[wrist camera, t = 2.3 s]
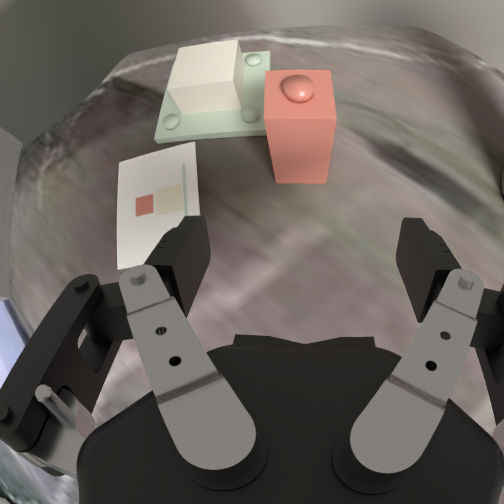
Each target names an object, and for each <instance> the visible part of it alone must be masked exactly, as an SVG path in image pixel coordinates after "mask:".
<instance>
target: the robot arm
mask: <svg viewBox="0 0 504 504" xmlns="http://www.w3.org/2000/svg"><path fill="white" fill-rule="evenodd" d="M501 185H502V191H503V196H504V169H503V172H502V182H501ZM209 262H210V245H209V239H208V233H207V227H206V221H205V217H204V216H203V215H192V216H184V218H183V219H182V221H181V222H180V224H179V225H178V227H173V228H172V229H170V230H169V231H168V232H166V233H165V234H164V235H163V236H162V238H161V239H160V241H159V242H158V243H157V245H156V246H155V248H154V249H153V251H152V252H151V254H150V255H149V256H148V258H147V259H146V261H145V262H144V264H143V265H137V266H134V267H132V268H130V269H128V270H126V271H125V272H124V273H123V274H122V275H121V276H120V278H119V282H117V283H111V284H105V285H101V284H100V282H99V279H98V277H97V276H95V275H93V274H86V275H82V276H79V277H77V278H75V279H73V280H72V281H71V282H70V283H69V284H68V285H67V286H66V288H65V289H64V290H63V292H62V293H61V294H60V296H59V297H58V299H57V300H56V301H55V303H54V304H53V306H52V307H51V309H50V310H49V311H48V313H47V314H46V316H45V317H44V319H43V320H42V322H41V323H40V325H39V326H38V328H37V329H36V331H35V332H34V334H33V335H32V337H31V338H30V340H29V342H28V343H27V345H26V346H25V348H24V349H23V351H22V353H21V354H20V356H19V358H18V359H17V361H16V363H15V364H14V366H13V368H12V369H11V371H10V373H9V375H8V376H7V378H6V380H5V382H4V384H3V385H2V387H1V389H0V439H1V440H2V441H3V442H5V443H6V444H7V445H8V446H9V447H10V448H11V449H12V450H13V451H15V452H16V453H17V454H19V455H20V456H21V457H23V458H24V459H26V460H27V461H29V462H30V463H32V464H33V465H35V466H37V467H39V468H41V469H42V470H44V471H46V472H47V473H49V474H51V475H53V476H62V475H65V474H66V475H68V476H70V477H73V478H75V479H78V485H79V504H498V501H499V497H500V494H501V492H504V284H503V286H502V289H501V291H500V292H499V291H494V290H490V289H486V288H484V284H483V282H482V280H481V279H480V278H479V277H478V276H477V275H476V274H475V273H473V272H471V271H469V270H465V269H462V268H461V267H460V265H459V263H458V262H457V260H456V259H455V257H454V255H453V254H452V252H450V249H449V248H448V246H446V243H445V242H444V240H443V239H442V237H441V236H439V235H438V234H437V233H435V232H434V231H433V230H429V228H428V227H427V225H426V224H425V222H424V221H423V219H422V218H404V219H403V221H402V225H401V230H400V236H399V241H398V246H397V252H396V263H397V267H398V269H399V272H400V274H401V277H402V280H403V282H404V285H405V287H406V290H407V293H408V296H409V298H410V301H411V304H412V307H413V310H414V313H415V315H416V318H417V321H418V323H422V324H421V326H420V328H419V330H418V331H417V333H416V335H415V337H414V338H413V340H412V342H411V343H410V345H409V347H408V348H407V350H406V352H405V353H404V355H403V356H402V357H401V356H399V355H397V354H395V353H393V352H391V351H388V350H385V349H382V348H378V347H375V342H374V337H339V338H335V339H330V340H325V341H320V342H315V343H309V344H301V343H297V342H292V341H288V340H284V339H280V338H275V337H271V336H257V335H239V334H235V338H234V342H233V344H232V345H227V346H222V347H219V348H216V349H213V350H211V351H209V352H206V351H205V350H204V348H203V346H202V345H201V343H200V341H199V340H198V338H197V336H196V335H195V333H194V331H193V329H192V328H191V326H190V324H189V323H188V321H187V319H186V318H187V316H188V313H189V311H190V308H191V306H192V303H193V301H194V298H195V296H196V294H197V291H198V289H199V286H200V284H201V281H202V279H203V277H204V274H205V272H206V269H207V267H208V265H209ZM83 329H85V331H86V333H87V335H86V337H85V339H84V340H83V342H82V344H81V346H80V348H79V349H78V338H79V336H80V334H81V332H82V330H83ZM127 339H134V340H135V343H136V346H137V349H138V352H139V355H140V358H141V360H142V363H143V366H144V368H145V371H146V374H147V376H148V379H149V382H150V384H151V387H152V389H153V390H152V391H151V392H149V393H148V394H146V395H145V396H143V397H142V398H141V399H139V400H138V401H136V402H135V403H133V404H132V405H130V406H129V407H127V408H126V409H124V410H123V411H122V412H120V413H119V414H117V415H116V416H114V417H113V418H111V419H110V420H108V421H107V422H105V423H104V424H102V425H101V426H99V427H98V428H96V429H95V430H94V427H95V423H94V418H93V416H92V415H91V414H92V411H93V409H94V406H95V404H96V401H97V399H98V396H99V394H100V392H101V389H102V387H103V384H104V382H105V380H106V377H107V375H108V373H109V370H110V368H111V366H112V363H113V361H114V359H115V357H116V354H117V352H118V350H119V348H120V345H121V343H122V341H123V340H127ZM469 346H470V347H475V350H476V353H477V356H478V359H479V362H480V365H481V368H482V372H483V375H484V378H485V382H486V385H487V389H488V393H489V397H490V401H491V405H492V409H493V413H494V418H495V422H496V427H495V429H494V432H493V438H492V437H491V436H490V435H489V434H488V433H487V432H486V431H485V430H484V429H483V428H482V427H481V426H479V425H478V424H477V423H476V422H475V421H474V420H473V419H472V418H471V417H470V416H468V415H467V414H466V413H465V412H464V411H463V410H462V409H461V408H460V407H458V406H457V405H456V404H455V403H454V402H453V401H452V400H451V399H450V398H449V396H450V394H451V391H452V389H453V387H454V384H455V382H456V380H457V377H458V375H459V372H460V370H461V367H462V365H463V362H464V360H465V357H466V354H467V351H468V349H469Z"/></svg>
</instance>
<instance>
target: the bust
mask: <svg viewBox="0 0 504 504" xmlns="http://www.w3.org/2000/svg"><path fill="white" fill-rule="evenodd" d="M0 504H11V503H9V502H8V501H7V500H6V499H5V498H1V497H0Z"/></svg>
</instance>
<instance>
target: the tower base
mask: <svg viewBox="0 0 504 504" xmlns="http://www.w3.org/2000/svg"><path fill="white" fill-rule="evenodd" d="M265 71H271V54H270V51H265V52H250V53H241V50H240V46H239V42H238V40H229V41H221V42H213V43H206V44H200V45H194V46H188V47H182V48H179V50H178V53H177V57H176V60H175V62H174V63H173V66H172V70H171V73H170V77H169V80H168V84H167V88H166V91H165V95H164V99H163V103H162V107H161V111H160V115H159V119H158V124H157V128H156V132H155V137H154V140H155V141H156V142H157V144H160V143H168V142H177V141H187V140H198V139H210V138H223V137H240V136H264V135H267V133H266V128H265V123H264V96H265Z"/></svg>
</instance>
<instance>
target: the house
mask: <svg viewBox="0 0 504 504" xmlns="http://www.w3.org/2000/svg"><path fill="white" fill-rule="evenodd" d="M22 145H23V143H22V142H21V141H20V140H18V139H17V138H15V137H14V136H13V135H11V134H10V133H8V132H7V131H5V130H4V129H3V128H1V127H0V301H3V300H6V299H10V231H11V216H12V205H13V196H14V188H15V180H16V174H17V167H18V162H19V156H20V151H21V150H22Z"/></svg>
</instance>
